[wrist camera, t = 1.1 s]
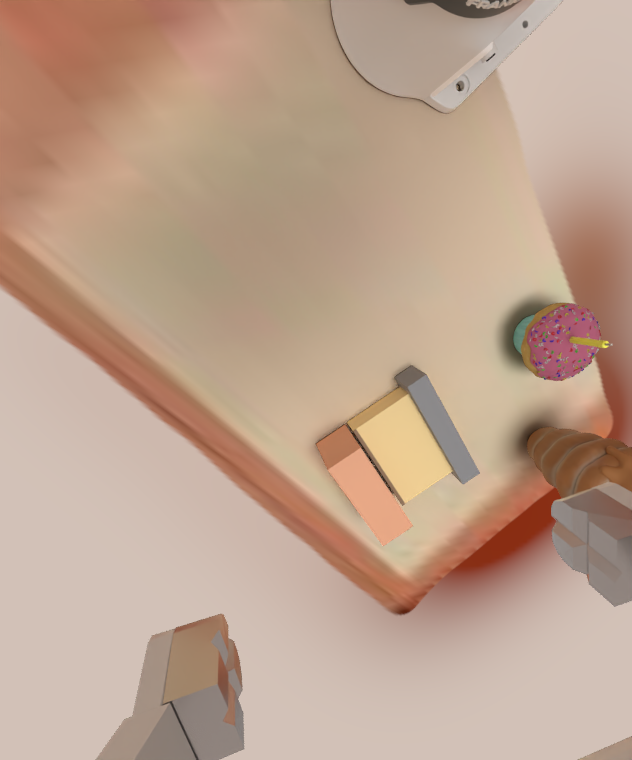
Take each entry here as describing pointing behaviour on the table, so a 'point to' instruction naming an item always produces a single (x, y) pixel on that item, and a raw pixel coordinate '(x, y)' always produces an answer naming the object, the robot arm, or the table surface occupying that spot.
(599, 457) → the cat ice cream
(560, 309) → the cupcake
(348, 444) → the block
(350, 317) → the table surface
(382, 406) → the yellow slab with bar
